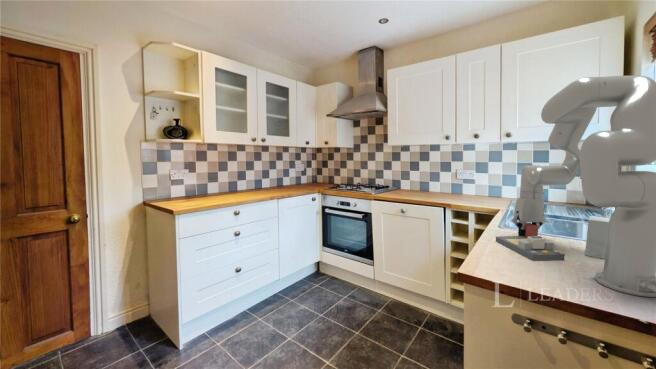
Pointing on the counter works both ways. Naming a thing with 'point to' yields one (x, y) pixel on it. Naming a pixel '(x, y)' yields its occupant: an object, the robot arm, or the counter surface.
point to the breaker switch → (536, 242)
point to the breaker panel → (527, 252)
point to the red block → (530, 230)
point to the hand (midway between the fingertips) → (527, 237)
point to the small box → (597, 236)
